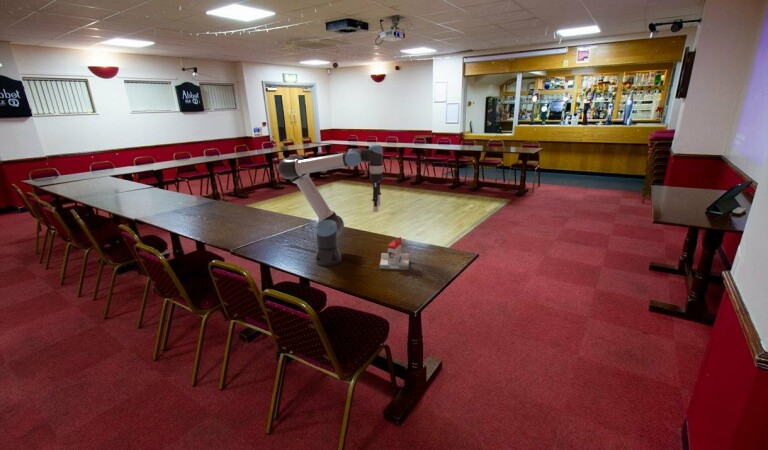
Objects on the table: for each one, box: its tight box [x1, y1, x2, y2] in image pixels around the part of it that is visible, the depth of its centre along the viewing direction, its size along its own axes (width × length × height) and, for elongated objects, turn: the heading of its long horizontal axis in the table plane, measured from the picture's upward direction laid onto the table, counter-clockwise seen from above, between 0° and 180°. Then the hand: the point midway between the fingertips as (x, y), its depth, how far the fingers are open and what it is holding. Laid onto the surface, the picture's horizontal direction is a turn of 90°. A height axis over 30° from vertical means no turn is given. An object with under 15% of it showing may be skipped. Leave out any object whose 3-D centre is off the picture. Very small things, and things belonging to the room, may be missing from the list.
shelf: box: [379, 252, 410, 271], centre depth 205 cm, size 16×12×4 cm
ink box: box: [387, 236, 402, 265], centre depth 203 cm, size 8×5×15 cm, turn 156°
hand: (376, 208), depth 213 cm, fingers open, 13 cm apart
